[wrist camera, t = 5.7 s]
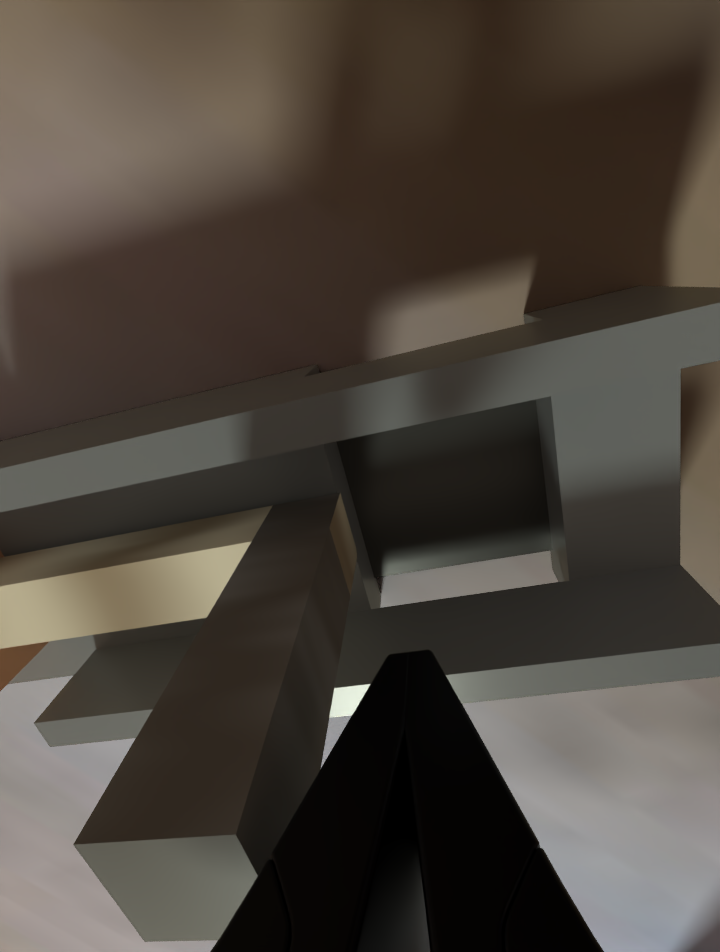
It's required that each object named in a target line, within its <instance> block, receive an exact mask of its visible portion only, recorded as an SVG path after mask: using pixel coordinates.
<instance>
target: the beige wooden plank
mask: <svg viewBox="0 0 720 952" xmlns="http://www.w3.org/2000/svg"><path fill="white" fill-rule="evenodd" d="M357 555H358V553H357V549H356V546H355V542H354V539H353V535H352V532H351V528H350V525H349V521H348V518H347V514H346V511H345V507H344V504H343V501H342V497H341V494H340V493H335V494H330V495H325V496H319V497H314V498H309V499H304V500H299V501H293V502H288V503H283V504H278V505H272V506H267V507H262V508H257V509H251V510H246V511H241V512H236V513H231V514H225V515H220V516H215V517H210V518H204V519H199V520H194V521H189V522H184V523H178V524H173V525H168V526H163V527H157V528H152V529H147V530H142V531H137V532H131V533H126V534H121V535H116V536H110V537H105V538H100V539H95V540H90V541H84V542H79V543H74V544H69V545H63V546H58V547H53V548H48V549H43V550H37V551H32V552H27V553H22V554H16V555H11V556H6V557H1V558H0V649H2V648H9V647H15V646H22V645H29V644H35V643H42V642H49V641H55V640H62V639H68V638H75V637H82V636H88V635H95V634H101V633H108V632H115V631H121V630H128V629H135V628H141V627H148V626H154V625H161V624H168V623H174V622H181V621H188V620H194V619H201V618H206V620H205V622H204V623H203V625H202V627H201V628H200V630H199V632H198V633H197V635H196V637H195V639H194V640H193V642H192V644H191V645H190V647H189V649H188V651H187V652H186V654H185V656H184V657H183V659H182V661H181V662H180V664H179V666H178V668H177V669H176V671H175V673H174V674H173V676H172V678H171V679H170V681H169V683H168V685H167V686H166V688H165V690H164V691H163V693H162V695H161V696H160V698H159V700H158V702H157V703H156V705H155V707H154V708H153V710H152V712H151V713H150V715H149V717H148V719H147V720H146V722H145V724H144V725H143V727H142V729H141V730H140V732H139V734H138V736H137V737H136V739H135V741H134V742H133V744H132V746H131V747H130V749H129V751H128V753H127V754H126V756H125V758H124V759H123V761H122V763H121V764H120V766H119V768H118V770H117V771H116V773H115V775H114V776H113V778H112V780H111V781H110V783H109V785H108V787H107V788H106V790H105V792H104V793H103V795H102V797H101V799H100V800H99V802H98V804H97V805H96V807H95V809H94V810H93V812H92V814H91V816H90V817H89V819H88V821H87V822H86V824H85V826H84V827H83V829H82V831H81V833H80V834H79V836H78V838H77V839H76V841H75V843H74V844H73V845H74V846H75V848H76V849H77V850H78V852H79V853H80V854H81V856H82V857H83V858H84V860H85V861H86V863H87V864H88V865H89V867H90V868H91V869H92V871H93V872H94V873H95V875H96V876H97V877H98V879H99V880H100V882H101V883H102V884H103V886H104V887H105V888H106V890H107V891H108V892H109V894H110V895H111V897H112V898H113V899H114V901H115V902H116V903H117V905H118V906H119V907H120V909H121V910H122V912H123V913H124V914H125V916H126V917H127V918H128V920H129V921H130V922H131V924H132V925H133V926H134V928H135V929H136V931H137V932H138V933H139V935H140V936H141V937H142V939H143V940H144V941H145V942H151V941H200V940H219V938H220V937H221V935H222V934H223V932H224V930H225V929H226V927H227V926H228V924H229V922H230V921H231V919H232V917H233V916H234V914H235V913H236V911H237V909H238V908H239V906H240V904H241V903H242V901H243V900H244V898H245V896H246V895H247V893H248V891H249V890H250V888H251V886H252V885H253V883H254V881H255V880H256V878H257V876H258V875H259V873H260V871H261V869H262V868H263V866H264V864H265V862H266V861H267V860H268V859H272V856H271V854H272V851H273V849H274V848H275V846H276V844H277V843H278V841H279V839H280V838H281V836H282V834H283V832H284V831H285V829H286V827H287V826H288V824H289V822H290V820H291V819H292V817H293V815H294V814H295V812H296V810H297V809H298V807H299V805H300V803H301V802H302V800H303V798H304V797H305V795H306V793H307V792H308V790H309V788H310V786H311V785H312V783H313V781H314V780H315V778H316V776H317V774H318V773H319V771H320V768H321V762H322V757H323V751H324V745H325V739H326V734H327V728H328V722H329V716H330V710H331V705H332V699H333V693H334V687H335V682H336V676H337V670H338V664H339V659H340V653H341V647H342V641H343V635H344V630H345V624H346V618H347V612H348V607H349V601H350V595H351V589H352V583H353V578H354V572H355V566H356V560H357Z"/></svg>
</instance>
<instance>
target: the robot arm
mask: <svg viewBox="0 0 720 952" xmlns="http://www.w3.org/2000/svg"><path fill="white" fill-rule="evenodd" d="M271 856H272V859H268V860H267V861H266V862H265V864H264V866H263V868H262V869H261V871H260V873H259V875H258V876H257V878H256V880H255V881H254V883H253V885H252V886H251V888H250V890H249V891H248V893H247V895H246V896H245V898H244V900H243V901H242V903H241V904H240V906H239V908H238V909H237V911H236V913H235V914H234V916H233V917H232V919H231V921H230V922H229V924H228V926H227V927H226V929H225V930H224V932H223V934H222V935H221V937H220V938H219V940H218V941H217V943H216V944H215V946H214V947H213V949H212V950H211V952H604V951H603V950H602V948H601V947H600V945H599V943H598V942H597V940H596V939H595V937H594V936H593V934H592V932H591V931H590V929H589V927H588V926H587V924H586V922H585V921H584V919H583V917H582V916H581V914H580V912H579V911H578V909H577V907H576V905H575V904H574V902H573V900H572V899H571V897H570V895H569V894H568V892H567V890H566V889H565V887H564V885H563V884H562V882H561V880H560V878H559V876H558V875H557V873H556V871H555V869H554V868H553V866H552V864H551V862H550V860H549V859H548V857H547V855H546V853H545V852H544V850H543V849H542V848H540V845H539V841H538V840H537V838H536V836H535V834H534V832H533V831H532V829H531V827H530V825H529V823H528V822H527V820H526V818H525V816H524V815H523V813H522V811H521V809H520V807H519V806H518V804H517V802H516V800H515V798H514V797H513V795H512V793H511V791H510V789H509V788H508V786H507V784H506V782H505V780H504V779H503V777H502V775H501V773H500V772H499V770H498V768H497V766H496V764H495V763H494V761H493V759H492V757H491V755H490V754H489V752H488V750H487V748H486V746H485V745H484V743H483V741H482V739H481V737H480V736H479V734H478V732H477V730H476V728H475V727H474V725H473V723H472V721H471V720H470V718H469V716H468V714H467V712H466V711H465V709H464V707H463V705H462V703H461V702H460V700H459V698H458V696H457V694H456V693H455V691H454V689H453V687H452V685H451V684H450V682H449V680H448V678H447V677H446V675H445V673H444V671H443V669H442V668H441V666H440V664H439V662H438V660H437V659H436V657H435V655H434V653H433V652H432V651H431V650H429V649H426V650H417V651H410V652H400V653H392V654H389V655H388V656H387V657H386V659H385V660H384V662H383V664H382V665H381V667H380V669H379V671H378V672H377V674H376V676H375V677H374V679H373V681H372V682H371V684H370V686H369V688H368V689H367V691H366V693H365V694H364V696H363V698H362V699H361V701H360V703H359V705H358V706H357V708H356V710H355V711H354V713H353V715H352V717H351V718H350V720H349V722H348V723H347V725H346V727H345V728H344V730H343V732H342V734H341V735H340V737H339V739H338V740H337V742H336V744H335V746H334V747H333V749H332V751H331V752H330V754H329V756H328V757H327V759H326V761H325V763H324V764H323V766H322V768H321V769H320V771H319V773H318V774H317V776H316V778H315V780H314V781H313V783H312V785H311V786H310V788H309V790H308V792H307V793H306V795H305V797H304V798H303V800H302V802H301V803H300V805H299V807H298V809H297V810H296V812H295V814H294V815H293V817H292V819H291V820H290V822H289V824H288V826H287V827H286V829H285V831H284V832H283V834H282V836H281V838H280V839H279V841H278V843H277V844H276V846H275V848H274V849H273V851H272V854H271Z"/></svg>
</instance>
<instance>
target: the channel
mask: <svg viewBox="0 0 720 952" xmlns="http://www.w3.org/2000/svg"><path fill="white" fill-rule="evenodd" d="M524 321H525V324H523V325H519V326H515V327H511V328H506V329H502V330H498V331H494V332H490V333H486V334H481V335H477V336H473V337H469V338H465V339H460V340H456V341H452V342H448V343H444V344H440V345H435V346H431V347H427V348H423V349H419V350H415V351H410V352H406V353H402V354H398V355H394V356H389V357H385V358H381V359H377V360H373V361H369V362H364V363H360V364H356V365H352V366H348V367H343V368H339V369H335V370H331V371H327V372H323V373H319V369H318V366H317V364H316V365H312V366H308V367H304V368H300V369H296V370H291V371H287V372H283V373H279V374H275V375H271V376H267V377H263V378H259V379H254V380H250V381H246V382H242V383H238V384H234V385H230V386H226V387H222V388H217V389H213V390H209V391H205V392H201V393H197V394H193V395H189V396H184V397H180V398H176V399H172V400H168V401H164V402H160V403H156V404H152V405H147V406H143V407H139V408H135V409H131V410H127V411H123V412H119V413H114V414H110V415H106V416H102V417H98V418H94V419H90V420H86V421H82V422H77V423H73V424H69V425H65V426H61V427H57V428H53V429H49V430H44V431H40V432H36V433H32V434H28V435H24V436H20V437H16V438H12V439H7V440H3V441H0V550H1V552H2V554H3V555H4V557H6V556H11V555H16V554H22V553H27V552H32V551H37V550H43V549H48V548H53V547H58V546H63V545H69V544H74V543H79V542H84V541H90V540H95V539H100V538H105V537H110V536H116V535H121V534H126V533H131V532H137V531H142V530H147V529H152V528H157V527H163V526H168V525H173V524H178V523H184V522H189V521H194V520H199V519H204V518H210V517H215V516H220V515H225V514H231V513H236V512H241V511H246V510H251V509H257V508H262V507H267V506H272V505H278V504H283V503H288V502H293V501H299V500H304V499H309V498H314V497H319V496H325V495H330V494H335V493H340V494H341V497H342V501H343V504H344V507H345V511H346V514H347V518H348V521H349V525H350V528H351V532H352V535H353V539H354V542H355V546H356V549H357V553H358V555H357V560H356V566H355V572H354V578H353V583H352V589H351V595H350V601H349V607H348V612H347V618H346V624H345V630H344V635H343V641H342V647H341V653H340V659H339V664H338V670H337V676H336V682H335V687H334V693H333V699H332V705H331V710H330V716H329V718H330V717H339V716H349V715H353V713H354V711H355V710H356V708H357V706H358V705H359V703H360V701H361V699H362V698H363V696H364V694H365V693H366V691H367V689H368V688H369V686H370V684H371V682H372V681H373V679H374V677H375V676H376V674H377V672H378V671H379V669H380V667H381V665H382V664H383V662H384V660H385V659H386V657H387V656H388V655H389V654H392V653H400V652H410V651H417V650H426V649H429V650H431V651H432V652H433V653H434V655H435V657H436V659H437V660H438V662H439V664H440V666H441V668H442V669H443V671H444V673H445V675H446V677H447V678H448V680H449V682H450V684H451V685H452V687H453V689H454V691H455V693H456V694H457V696H458V698H459V700H460V702H461V703H472V702H481V701H491V700H500V699H510V698H519V697H529V696H538V695H548V694H557V693H567V692H576V691H586V690H595V689H605V688H614V687H624V686H633V685H643V684H652V683H662V682H671V681H681V680H690V679H700V678H709V677H719V676H720V605H719V604H718V603H717V602H716V601H715V600H714V599H713V598H712V597H711V596H710V595H709V594H708V593H707V592H706V591H705V590H704V589H703V588H702V587H701V586H700V585H699V584H698V583H697V582H696V581H695V579H694V578H693V577H692V576H691V575H690V574H689V573H688V572H687V571H686V570H685V569H684V568H683V567H682V566H681V565H680V417H681V369H682V368H686V367H691V366H696V365H700V364H705V363H710V362H715V361H719V360H720V288H713V287H669V286H637V287H633V288H629V289H625V290H621V291H617V292H613V293H608V294H604V295H600V296H596V297H592V298H588V299H584V300H580V301H576V302H571V303H567V304H563V305H559V306H555V307H551V308H547V309H543V310H538V311H534V312H530V313H526V314H524ZM549 550H550V551H551V559H552V568H553V572H554V574H555V576H556V578H557V580H558V581H559V582H556V583H549V584H542V585H536V586H529V587H522V588H515V589H508V590H501V591H494V592H487V593H480V594H473V595H467V596H460V597H453V598H446V599H439V600H432V601H425V602H418V603H411V604H404V605H397V606H391V607H384V608H380V604H381V594H380V590H379V586H378V583H377V579H376V578H377V577H383V576H389V575H396V574H402V573H409V572H415V571H421V570H428V569H434V568H440V567H447V566H453V565H460V564H466V563H472V562H479V561H485V560H492V559H498V558H504V557H511V556H517V555H523V554H530V553H536V552H543V551H549ZM205 620H206V618H201V619H194V620H188V621H181V622H174V623H168V624H161V625H154V626H148V627H141V628H135V629H128V630H121V631H115V632H108V633H101V634H95V635H88V636H82V637H75V638H68V639H62V640H55V641H49V642H48V643H47V644H46V645H45V647H44V648H43V649H42V650H41V651H40V652H39V653H38V654H37V655H36V656H35V657H34V658H33V659H32V660H31V661H30V662H29V663H28V664H27V665H26V666H25V667H24V668H23V669H22V670H21V671H20V672H19V673H18V674H17V675H16V676H15V677H14V678H13V679H12V680H11V681H10V682H9V683H8V684H12V683H20V682H27V681H35V680H42V679H50V678H57V677H64V676H72V675H74V676H73V677H72V678H71V679H70V681H69V682H68V683H67V684H66V685H65V687H64V688H63V689H62V690H61V691H60V693H59V694H58V695H57V696H56V697H55V699H54V700H53V701H52V702H51V703H50V705H49V706H48V707H47V708H46V709H45V711H44V712H43V713H42V714H41V715H40V716H39V718H38V719H37V720H36V721H35V722H34V724H35V726H36V727H37V729H38V730H39V731H40V733H41V734H42V736H43V737H44V739H45V740H46V742H47V743H48V745H49V746H50V747H54V746H64V745H73V744H83V743H92V742H102V741H111V740H121V739H130V738H136V737H137V736H138V734H139V732H140V730H141V729H142V727H143V725H144V724H145V722H146V720H147V719H148V717H149V715H150V713H151V712H152V710H153V708H154V707H155V705H156V703H157V702H158V700H159V698H160V696H161V695H162V693H163V691H164V690H165V688H166V686H167V685H168V683H169V681H170V679H171V678H172V676H173V674H174V673H175V671H176V669H177V668H178V666H179V664H180V662H181V661H182V659H183V657H184V656H185V654H186V652H187V651H188V649H189V647H190V645H191V644H192V642H193V640H194V639H195V637H196V635H197V633H198V632H199V630H200V628H201V627H202V625H203V623H204V622H205Z"/></svg>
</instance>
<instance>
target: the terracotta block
mask: <svg viewBox="0 0 720 952" xmlns="http://www.w3.org/2000/svg"><path fill="white" fill-rule="evenodd" d="M1 557H4V555H3V554H2V552H1V550H0V558H1ZM47 643H48V642H42V643H35V644H29V645H22V646H15V647H9V648H2V649H0V691H1V690H2V689H3V688H4V687H5V686H6V685H7V684H8V683H9V682H10V681H11V680H12V679H13V678H14V677H15V676H16V675H17V674H18V673H19V672H20V671H21V670H22V669H23V668H24V667H25V666H26V665H27V664H28V663H29V662H30V661H31V660H32V659H33V658H34V657H35V656H36V655H37V654H38V653H39V652H40V651H41V650H42V649H43V648H44V647H45V645H46V644H47Z"/></svg>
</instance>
